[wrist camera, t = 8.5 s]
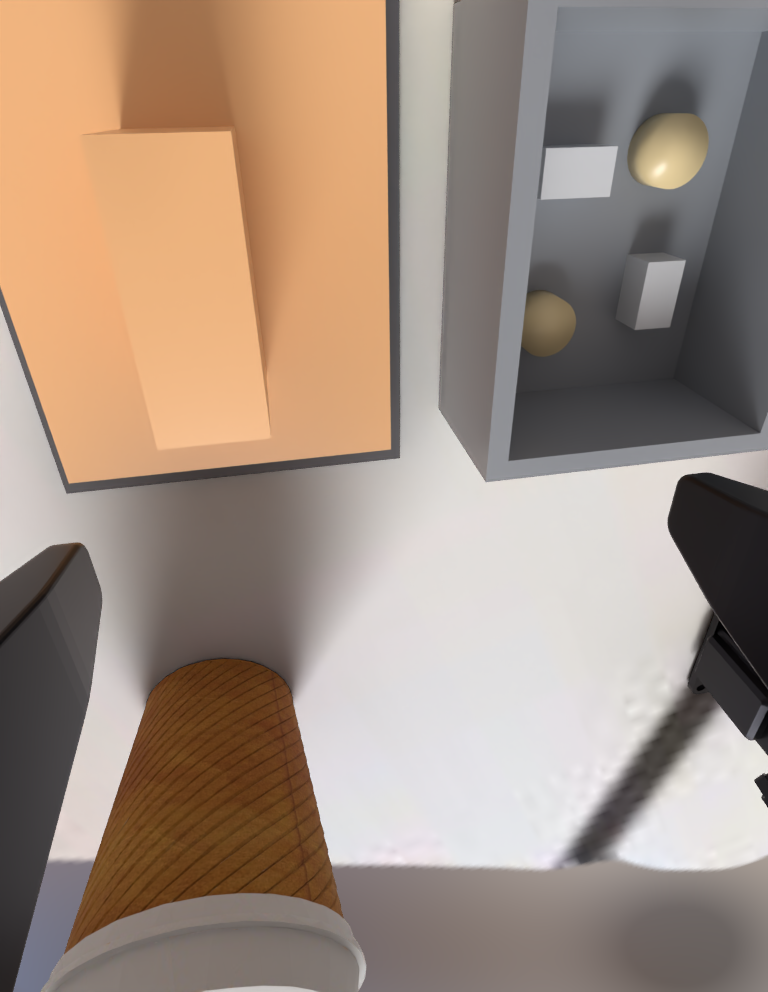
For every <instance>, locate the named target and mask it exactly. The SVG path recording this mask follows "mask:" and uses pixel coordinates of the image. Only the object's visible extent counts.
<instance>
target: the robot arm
mask: <svg viewBox="0 0 768 992" xmlns="http://www.w3.org/2000/svg"><path fill="white" fill-rule="evenodd" d="M668 529H669V532H670V535H671V537H672V538H673V540H674V542H675V544H676V546H677V547H678V549H679V551H680V553H681V555H682V556H683V558H684V560H685V562H686V564H687V565H688V567H689V569H690V571H691V572H692V574H693V576H694V578H695V580H696V581H697V583H698V585H699V587H700V589H701V590H702V592H703V594H704V596H705V598H706V599H707V601H708V603H709V604H710V606H711V608H712V609H713V611H714V612H715V613H714V616H713V618H712V621H711V624H710V626H709V629H708V632H707V634H706V637H705V640H704V642H703V645H702V647H701V650H700V653H699V655H698V658H697V661H696V663H695V666H694V669H693V671H692V674H691V677H690V679H689V682H688V687H689V688H690V690H691V691H692V692H693V693H694V694H702V693H707V692H709V693H710V694H711V695H712V696H713V698H714V699H715V700H716V701H717V703H718V704H719V705H720V706H721V708H722V709H723V710H724V711H725V713H726V714H727V715H728V716H729V718H730V719H731V720H732V722H733V723H734V724H735V725H736V727H737V728H738V729H739V730H740V732H741V733H742V734H743V735H744V736H745V737H746V738H747V739H748V740H756V741H757V743H758V744H759V745H760V746H761V748H762V749H763V750H764V751H765V753H766V754H767V755H768V491H766V490H763V489H760V488H757V487H754V486H750V485H747V484H744V483H741V482H738V481H735V480H731V479H728V478H725V477H722V476H719V475H715V474H712V473H697V474H689V475H685V476H683V477H681V478H680V480H679V481H678V483H677V486H676V490H675V494H674V497H673V501H672V505H671V508H670V512H669V515H668ZM101 609H102V592H101V588H100V585H99V582H98V579H97V576H96V573H95V570H94V567H93V564H92V561H91V559H90V556H89V553H88V550H87V549H86V547H85V546H84V545H83V544H81V543H68V544H59V545H52V546H50V547H48V548H46V549H45V550H44V551H42V552H41V553H39V554H38V555H37V556H35V557H34V558H32V559H31V560H30V561H28V562H27V563H25V564H24V565H23V566H21V567H20V568H18V569H17V570H16V571H14V572H13V573H11V574H10V575H9V576H7V577H6V578H4V579H3V580H2V581H0V992H13V990H14V986H15V982H16V978H17V974H18V970H19V967H20V963H21V959H22V955H23V951H24V948H25V944H26V940H27V936H28V932H29V929H30V925H31V921H32V917H33V913H34V910H35V906H36V902H37V898H38V894H39V891H40V887H41V883H42V879H43V875H44V871H45V868H46V864H47V860H48V856H49V852H50V849H51V845H52V841H53V837H54V833H55V830H56V826H57V822H58V818H59V814H60V811H61V807H62V803H63V799H64V795H65V792H66V788H67V784H68V780H69V776H70V772H71V769H72V765H73V761H74V757H75V753H76V750H77V746H78V742H79V738H80V734H81V731H82V727H83V723H84V719H85V715H86V711H87V707H88V702H89V697H90V691H91V685H92V677H93V670H94V662H95V654H96V647H97V639H98V632H99V624H100V616H101ZM754 781H755V783H756V784H757V786H758V788H759V789H760V791H761V792H762V794H763V795H762V797H761V798H762V800H763V801H764V802H765V804H766V805H767V807H768V774H765V773H763V774H762V775H760V776H759V777H758V778H756V779H755V780H754Z"/></svg>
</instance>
